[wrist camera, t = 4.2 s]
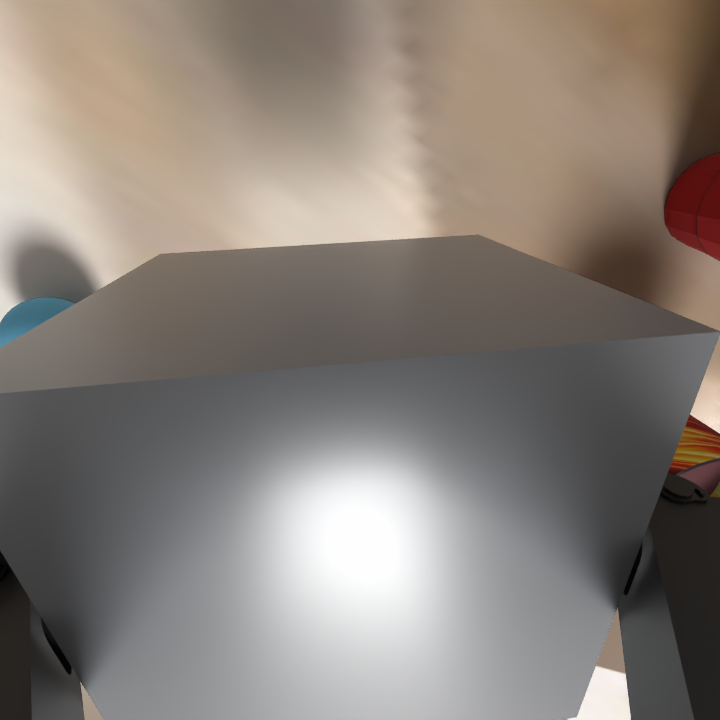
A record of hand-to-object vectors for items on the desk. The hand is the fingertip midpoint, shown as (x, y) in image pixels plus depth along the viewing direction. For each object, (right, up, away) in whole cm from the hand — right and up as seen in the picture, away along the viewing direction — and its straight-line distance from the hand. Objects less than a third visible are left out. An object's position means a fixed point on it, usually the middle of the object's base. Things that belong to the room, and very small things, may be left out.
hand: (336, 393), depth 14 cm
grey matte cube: (0, 0, +1) cm, 1 cm away
